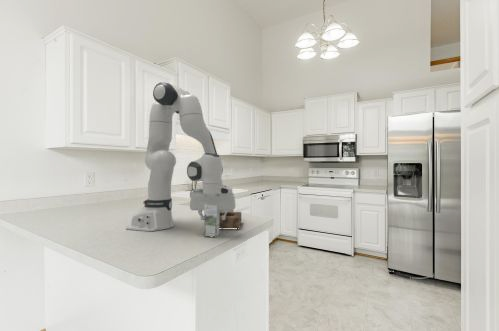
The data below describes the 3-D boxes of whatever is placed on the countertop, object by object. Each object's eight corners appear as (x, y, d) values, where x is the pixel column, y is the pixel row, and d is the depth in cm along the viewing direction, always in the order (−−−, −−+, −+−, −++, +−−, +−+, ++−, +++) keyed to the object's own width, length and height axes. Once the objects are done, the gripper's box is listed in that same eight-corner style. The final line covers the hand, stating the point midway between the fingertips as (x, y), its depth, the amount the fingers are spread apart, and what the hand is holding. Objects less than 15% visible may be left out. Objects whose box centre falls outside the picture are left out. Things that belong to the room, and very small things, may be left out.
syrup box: (219, 233, 110) (219, 202, 109) (216, 237, 104) (216, 204, 104) (207, 233, 110) (207, 202, 110) (203, 237, 104) (204, 204, 104)
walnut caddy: (210, 229, 117) (210, 217, 117) (216, 222, 131) (216, 211, 131) (238, 229, 116) (238, 217, 116) (241, 222, 130) (241, 212, 130)
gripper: (187, 190, 104) (188, 221, 104) (234, 189, 103) (234, 221, 103) (191, 188, 110) (192, 218, 111) (235, 188, 109) (236, 217, 110)
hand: (213, 219), depth 107 cm, fingers open, 8 cm apart
